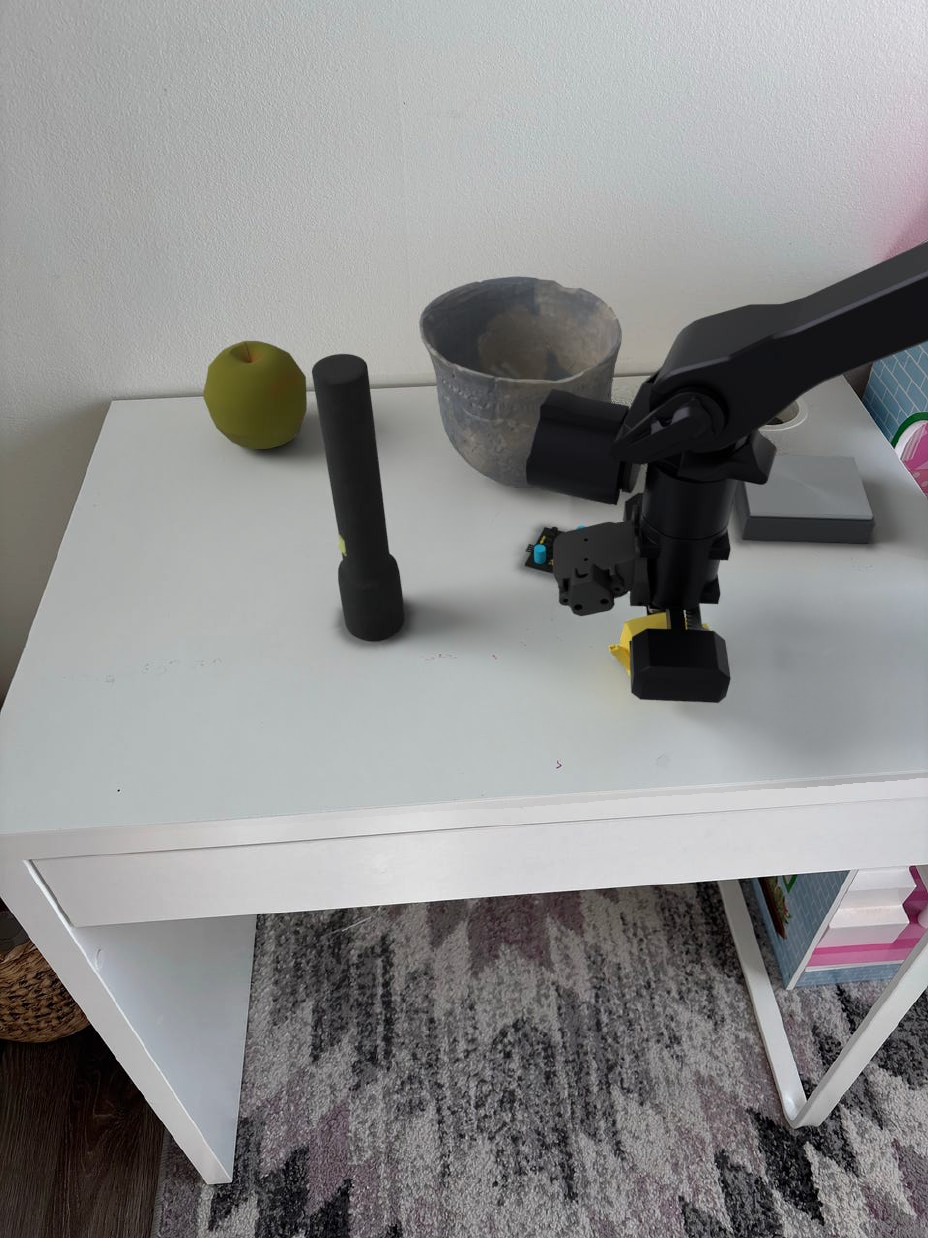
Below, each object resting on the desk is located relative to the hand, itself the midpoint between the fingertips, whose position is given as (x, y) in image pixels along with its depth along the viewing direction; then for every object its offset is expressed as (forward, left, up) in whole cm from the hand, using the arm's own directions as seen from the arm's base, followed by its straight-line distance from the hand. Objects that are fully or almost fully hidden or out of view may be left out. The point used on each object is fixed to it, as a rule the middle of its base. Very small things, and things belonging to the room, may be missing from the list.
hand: (658, 666), depth 75 cm
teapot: (0, 0, -1) cm, 1 cm away
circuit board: (+8, -14, -1) cm, 16 cm away
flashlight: (+23, -5, -1) cm, 24 cm away
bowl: (+12, -27, -1) cm, 30 cm away
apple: (+38, -30, -1) cm, 48 cm away
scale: (-14, -21, -1) cm, 25 cm away
